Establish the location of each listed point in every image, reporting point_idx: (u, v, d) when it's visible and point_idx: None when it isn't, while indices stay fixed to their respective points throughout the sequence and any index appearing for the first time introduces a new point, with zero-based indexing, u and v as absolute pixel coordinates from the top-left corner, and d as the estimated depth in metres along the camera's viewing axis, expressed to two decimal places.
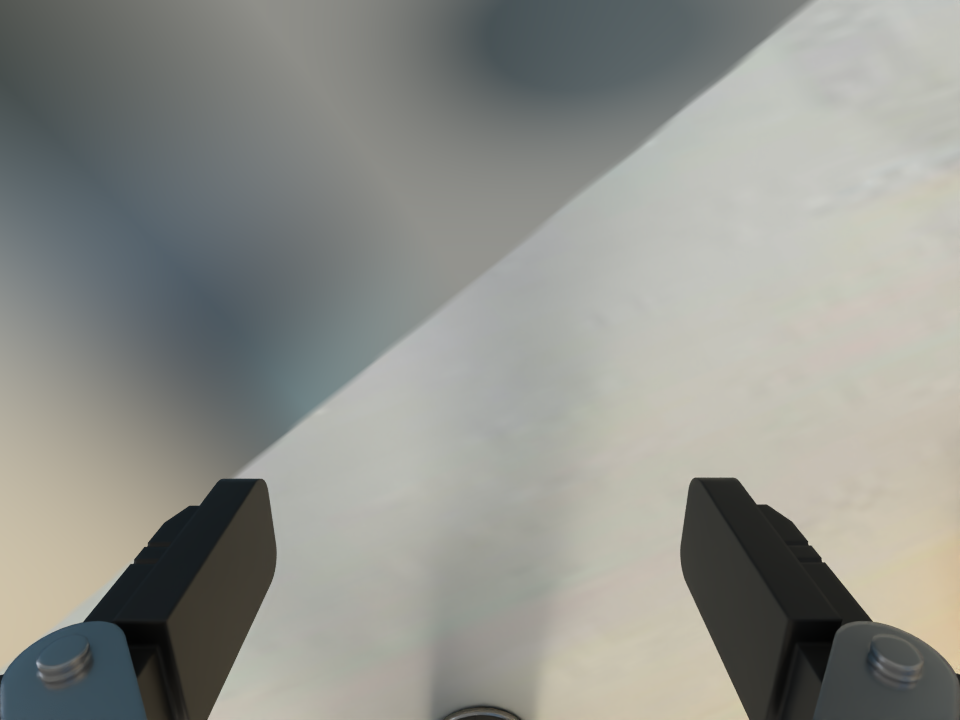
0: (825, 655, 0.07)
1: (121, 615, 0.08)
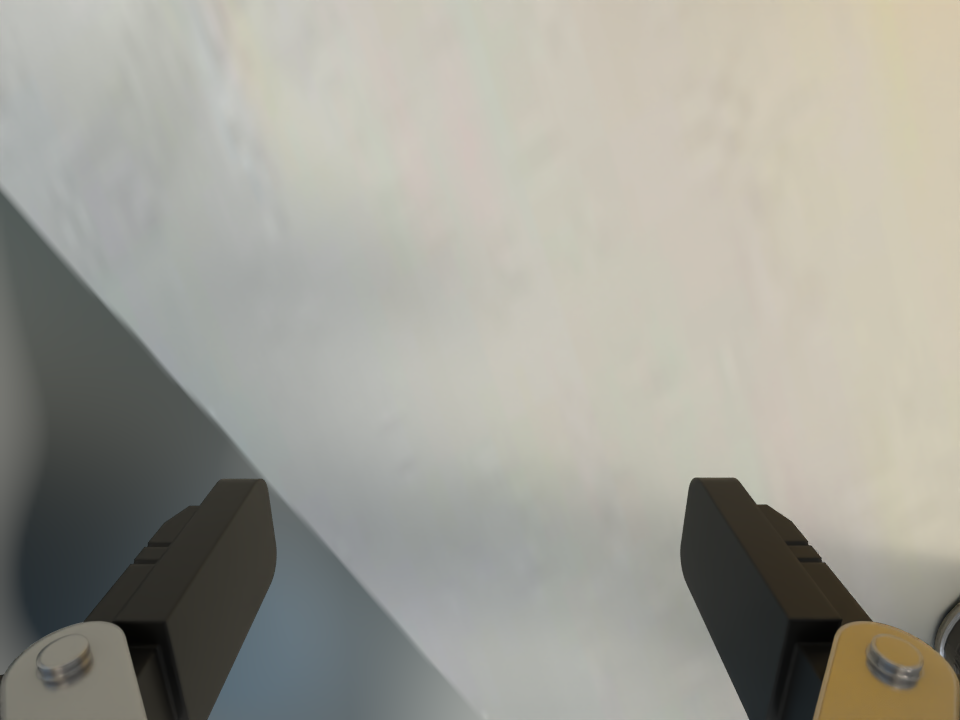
0: (825, 655, 0.07)
1: (121, 615, 0.08)
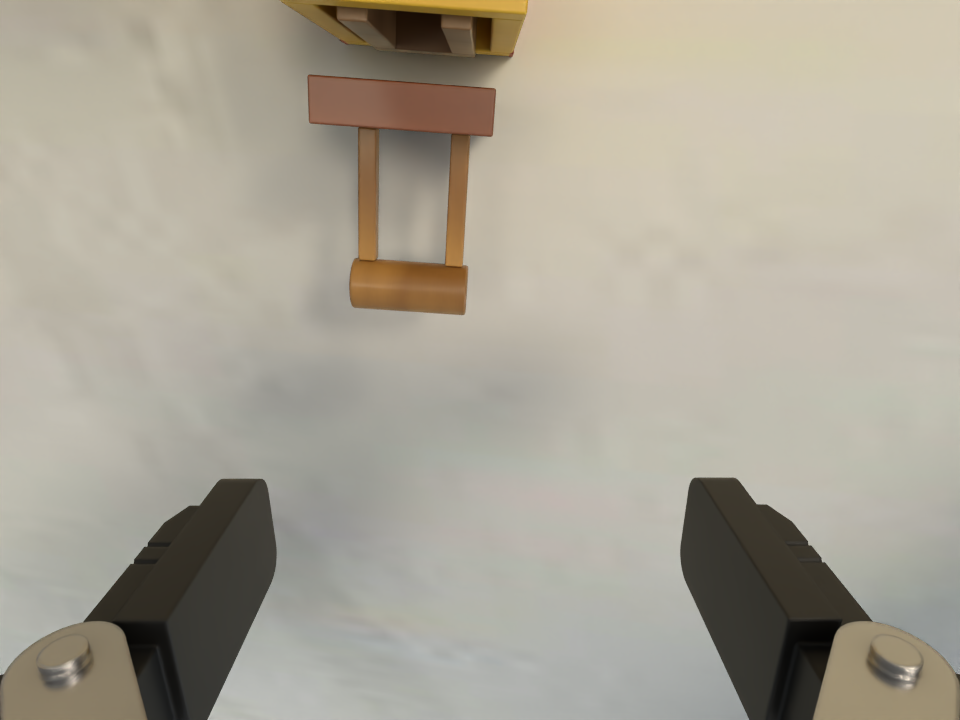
0: (825, 655, 0.07)
1: (121, 615, 0.08)
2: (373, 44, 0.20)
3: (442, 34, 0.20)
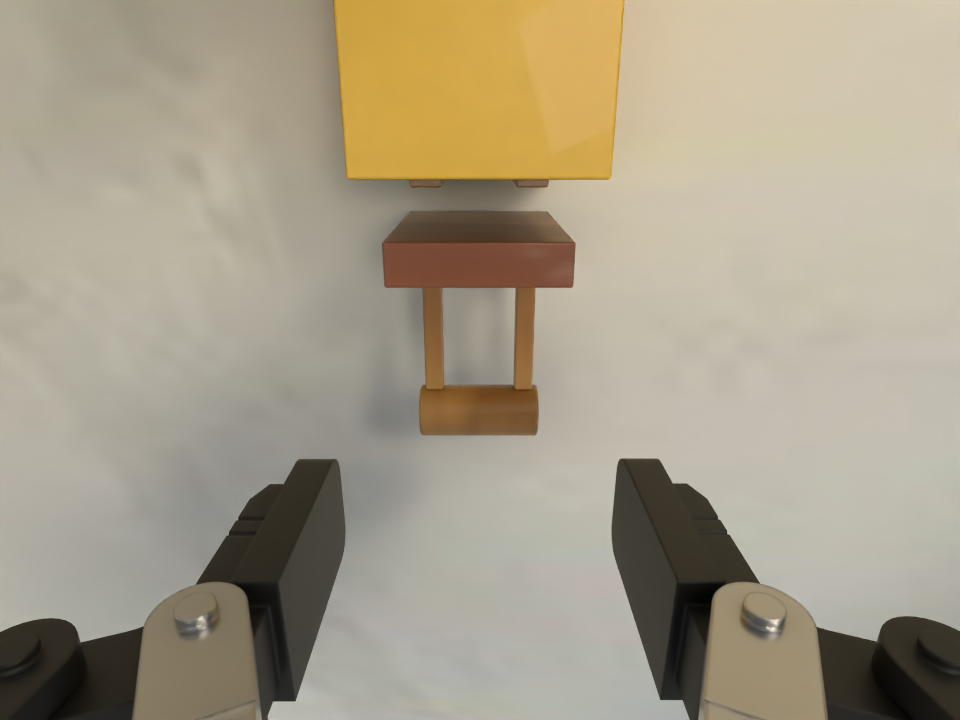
0: (710, 614, 0.08)
1: (236, 577, 0.08)
2: None
3: None
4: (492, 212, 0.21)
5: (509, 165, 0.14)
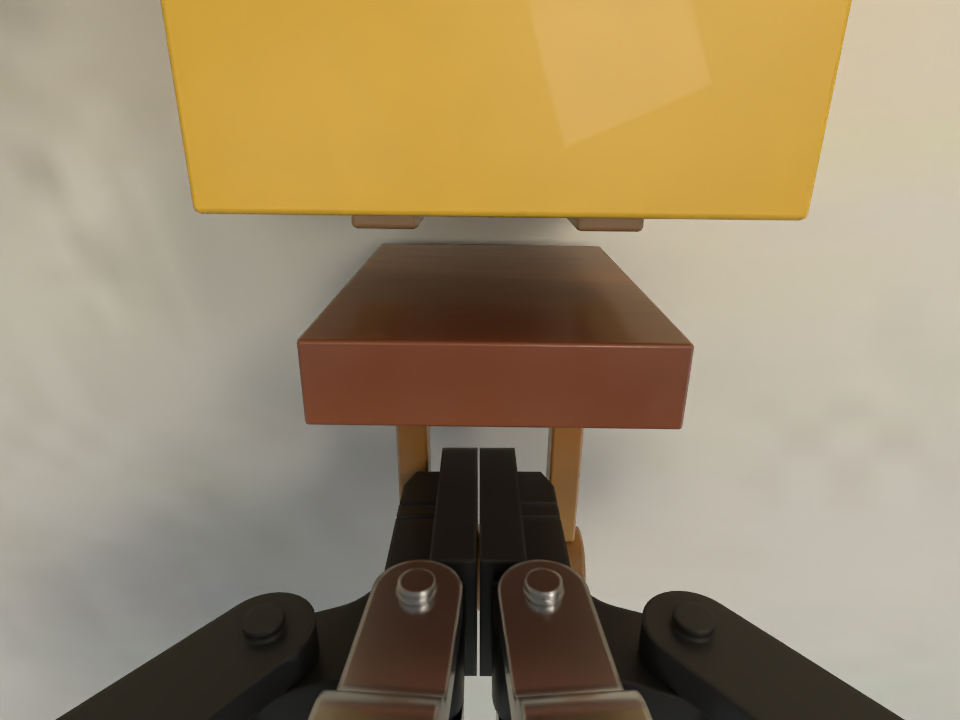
0: None
1: (434, 555, 0.09)
2: None
3: None
4: (512, 247, 0.13)
5: (573, 185, 0.06)
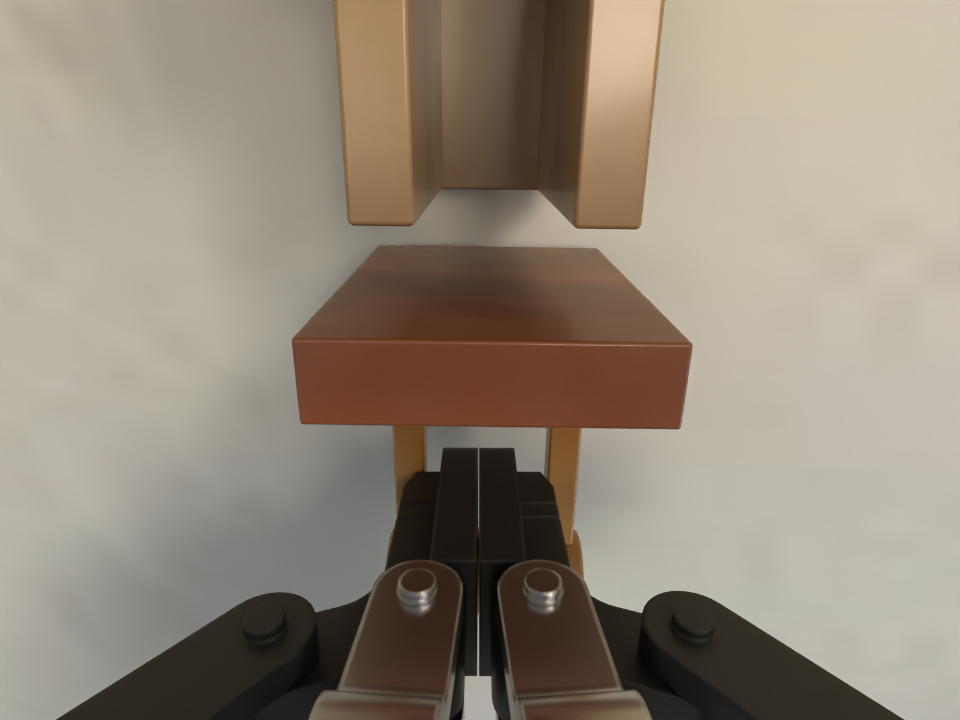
0: None
1: (435, 556, 0.09)
2: None
3: (521, 161, 0.12)
4: (509, 249, 0.13)
5: None
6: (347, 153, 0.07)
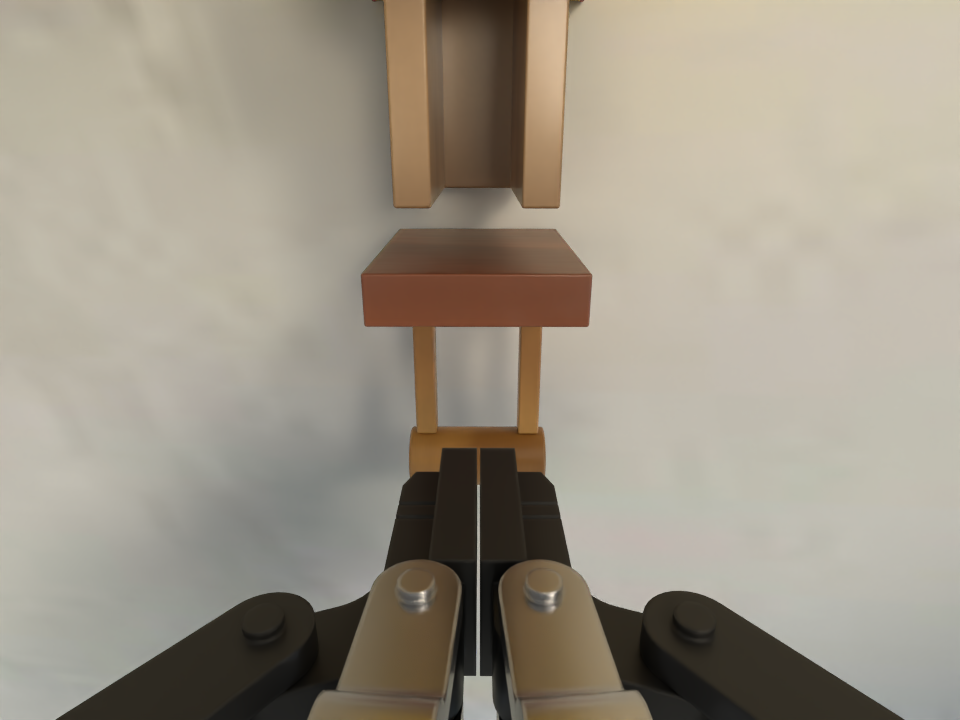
0: None
1: (434, 556, 0.09)
2: None
3: (499, 168, 0.17)
4: (493, 230, 0.19)
5: None
6: (394, 167, 0.12)
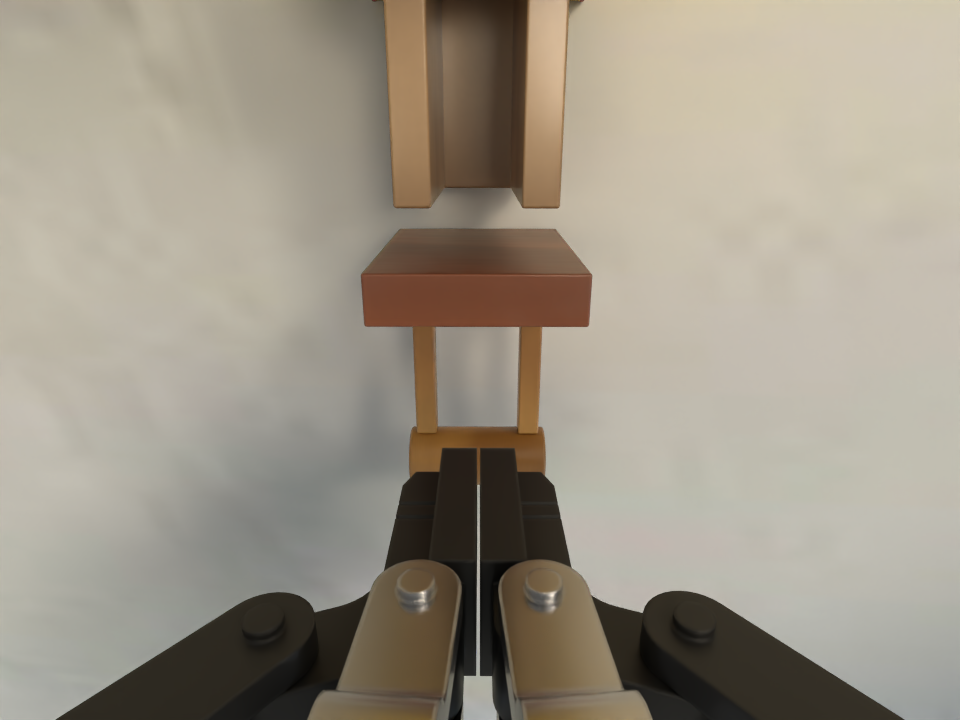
0: None
1: (434, 556, 0.09)
2: None
3: (499, 168, 0.17)
4: (493, 230, 0.19)
5: None
6: (394, 167, 0.12)
